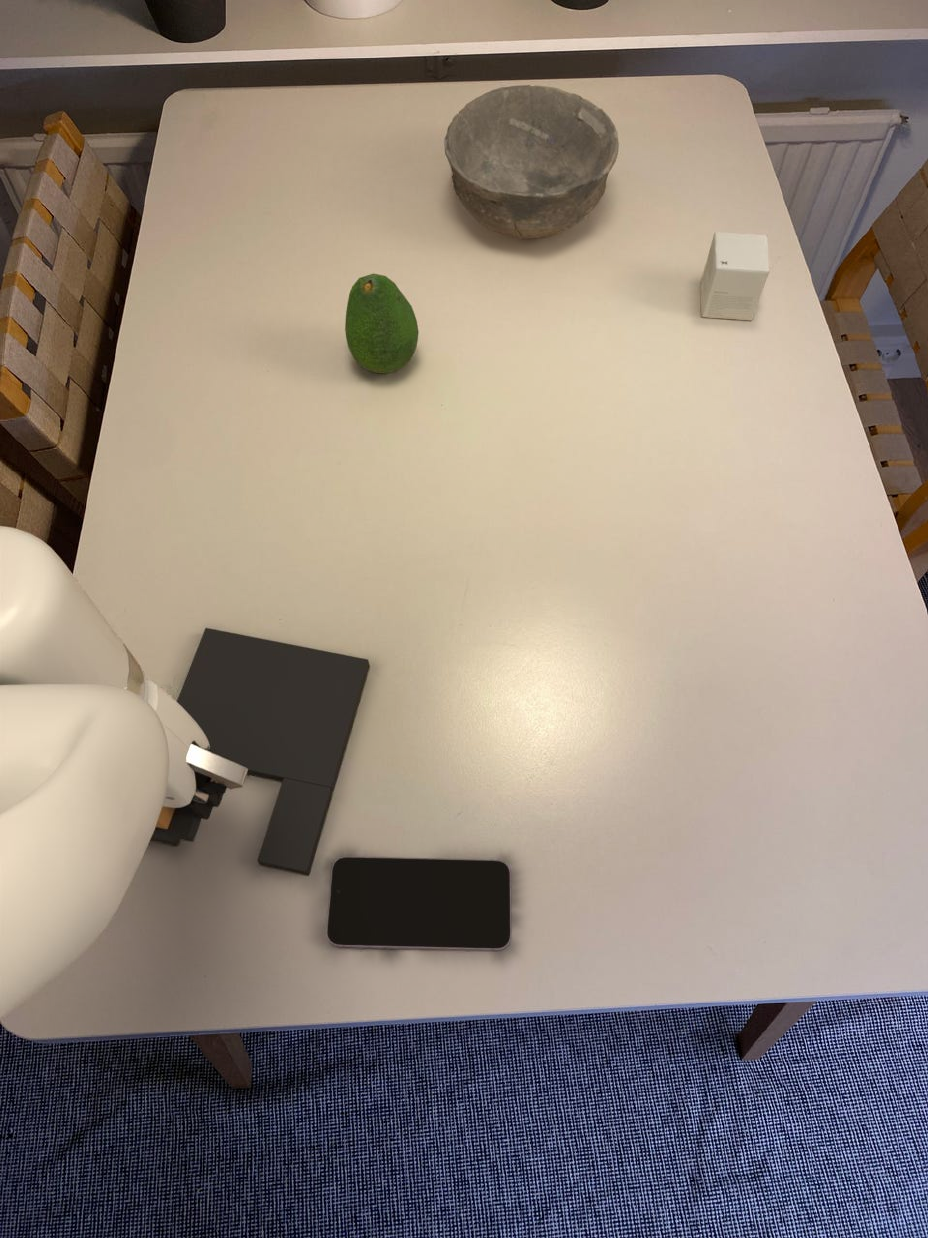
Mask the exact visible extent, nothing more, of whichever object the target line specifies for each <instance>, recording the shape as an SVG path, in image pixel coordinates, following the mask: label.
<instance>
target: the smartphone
mask: <svg viewBox="0 0 928 1238" xmlns="http://www.w3.org/2000/svg"><path fill="white" fill-rule="evenodd" d="M330 870H331V871H330V881H329V893H328V905H327V906H328V907H327V918H326V930H325V931H326V932H325V933H326V934H325V935H326V938H327V940H328V942H329V943H330V944H331V945H332V946H334V947H335V948H349V949H350V948H352V949H381V950H383V949H388V950H433V951H434V950H437V951H438V950H441V951H480V952H481V951H486V952H497V951H503V950H505V949H506V948H508V946H509V944H510V942H511V939H512V871H511V869H510V866H509V865H508V864H507V863H506V862H505V861H503V860H500V859H479V858H478V859H477V858H476V859H474V858H437V857H397V856H396V857H393V856H392V857H391V856H389V857H388V856H360V855H359V856H357V855H355V856H354V855H353V856H352V855H347V856H345V855H344V856H341V857H338V858H337V859H335V860H334V862H333V863H332V866H331V869H330Z"/></svg>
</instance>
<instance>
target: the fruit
mask: <svg viewBox="0 0 928 1238" xmlns="http://www.w3.org/2000/svg"><path fill="white" fill-rule="evenodd" d="M347 298H348V299H347V305H346V310H345V324H344V332H345V338H346V343H347V347H348V350H349V352H350V354H351V356H352V358H353V359H354V361H356V362H357V364H358V365H359V366H360V367H362V368H364V369H366V370H368V371H370V372H373V373H376V374H389V373H393V372H397V371H399V370H401V369H402V368H404V367H405V366H406V365H407V364H408V363H409V362H410V361H411V359H412V358H413V356H414V354H415V352H416V350H417V346H418V340H419V326H418V321H417V317H416V314H415V312H414V309H413V306H412V305H411V303H410V301H408V299H407V298H406V296H405V295H404V293H403V292H402V291H401V290H400V289H399V287H398V285H397V284H396V283H395V282H394V281H393V280H392V279H391V278H389V277H388V276H386V275H383V274H378V273H374V272H373V273H369V274H367V275H364V276H361V277H359V278H358V279H357V280H356V281H355V283H354V284H353V285H352V286H351V289H350V291H349V294H348V297H347Z"/></svg>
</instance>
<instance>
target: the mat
mask: <svg viewBox="0 0 928 1238" xmlns="http://www.w3.org/2000/svg"><path fill="white" fill-rule="evenodd" d="M370 668H371V667H370V661H369V659H368V658H364V657H363V658H362V657H359V656H352V655H347V654H341V653H337V652H332V651H326V650H321V649H316V648H311V647H307V646H301V645H296V644H292V643H287V642H281V641H275V640H271V639H265V638H260V637H255V636H251V635H245V634H239V633H235V632H230V631H225V630H219V629H215V628H210V627H205V628H204V631H203V633H202V635H201V639H200V641H199V644H198V646H197V648H196V651H195V654H194V656H193V659H192V661H191V664H190V666H189V669H188V672H187V674H186V677H185V679H184V682H183V684H182V687H181V690H180V692H179V695H178V697H177V698H176V699H177V700H176V702H177V703H178V704H180V705H181V706H182V707H183V708H184V709H185V711H186V712H187V713H188V714H189V715H190V716H191V717H192V718H193V719H194V720H195V721H196V723H197V724H198V725H199V726H200V728H201V729H202V731H203V732H204V734H205V735H206V737H207V739H208V742H209V745H210V749H209V750H207V751H211V752H215V753H218V754H219V756H221V757H223V758H225V759H228V760H230V761H232V762H234V763H237V764H239V765H241V766H244V767H246V768H247V769H248V772H247V775H248V776H249V775H250V776H254V777H258V778H263V779H268V780H272V781H277V782H281V785H280V789H279V791H278V794H277V797H276V800H275V803H274V806H273V809H272V813H271V816H270V819H269V823H268V826H267V829H266V832H265V835H264V838H263V841H262V844H261V848H260V850H259V852H258V853H259V854H258V857H257V860H256V861H257V863H259V865H260V866H263V867H267V868H271V869H272V868H273V869H275V870H280V871H285V872H290V873H295V874H300V875H304V876H310V873H311V870H312V867H313V863H314V860H315V857H316V853H317V850H318V846H319V842H320V839H321V836H322V832H323V829H324V825H325V822H326V819H327V818H326V817H327V815H328V811H329V808H330V804H331V801H332V798H333V794H334V791H335V787H336V784H337V780H338V777H339V773H340V770H341V767H342V764H343V760H344V756H345V754H346V749H347V747H348V743H349V739H350V736H351V734H352V733H351V732H352V729H353V725H354V723H355V719H356V715H357V712H358V709H359V705H360V701H361V698H362V695H363V692H364V688H365V684H366V681H367V677H368V673H369V670H370ZM180 841H181V839H177V838H172V837H168V836H163V835H158V834H154V833H153V835H152V837H151V839H150V841H149V842H156V843H160V844H164V845H168V846H174V847H178V846H179V844H180Z"/></svg>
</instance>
